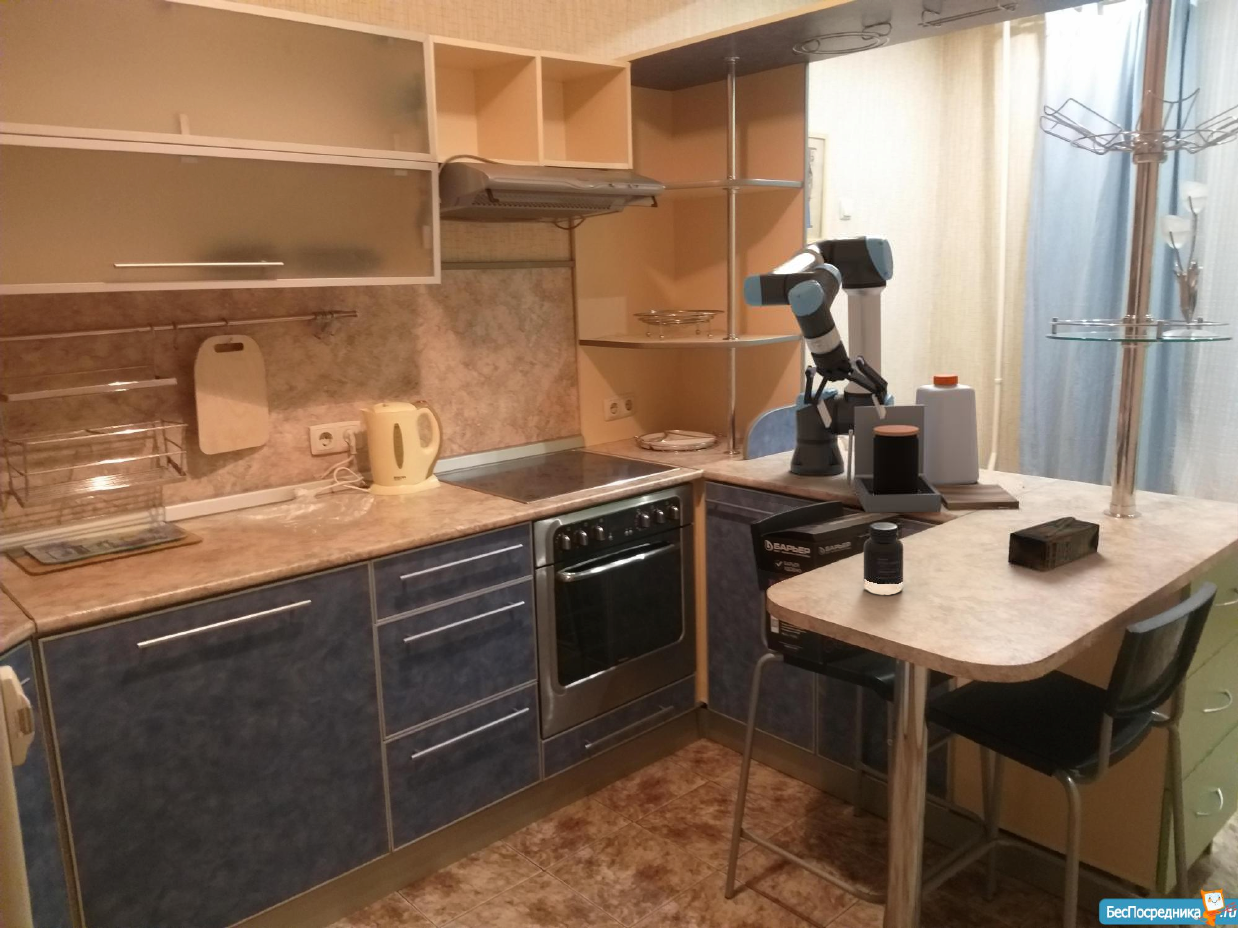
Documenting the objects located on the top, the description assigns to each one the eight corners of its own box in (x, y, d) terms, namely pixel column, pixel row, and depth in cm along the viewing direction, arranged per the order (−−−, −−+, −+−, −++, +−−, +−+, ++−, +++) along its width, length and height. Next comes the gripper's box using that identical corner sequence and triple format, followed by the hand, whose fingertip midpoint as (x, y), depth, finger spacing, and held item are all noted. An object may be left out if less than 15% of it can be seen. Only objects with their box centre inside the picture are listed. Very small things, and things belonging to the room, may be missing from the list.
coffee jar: (913, 495, 234) (913, 424, 231) (922, 505, 224) (923, 431, 220) (869, 496, 235) (869, 425, 232) (876, 506, 225) (877, 433, 221)
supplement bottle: (858, 585, 170) (858, 521, 168) (894, 582, 171) (895, 519, 168) (871, 597, 164) (871, 531, 161) (909, 594, 164) (909, 528, 162)
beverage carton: (1100, 553, 182) (1102, 520, 181) (1044, 574, 172) (1046, 540, 171) (1061, 544, 189) (1063, 513, 188) (1005, 564, 178) (1006, 531, 177)
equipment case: (846, 486, 247) (846, 404, 242) (918, 485, 244) (919, 401, 240) (859, 512, 220) (859, 420, 216) (940, 511, 218) (942, 418, 213)
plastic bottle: (930, 488, 240) (932, 380, 234) (904, 476, 255) (905, 374, 249) (985, 483, 242) (988, 376, 237) (955, 472, 257) (958, 370, 251)
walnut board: (932, 491, 237) (932, 485, 237) (997, 490, 235) (997, 484, 234) (947, 508, 219) (947, 502, 219) (1018, 507, 217) (1019, 501, 217)
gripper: (771, 364, 218) (803, 436, 227) (875, 344, 203) (904, 421, 213) (780, 347, 223) (811, 418, 233) (881, 326, 209) (910, 402, 218)
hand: (855, 420), depth 223 cm, fingers open, 13 cm apart
